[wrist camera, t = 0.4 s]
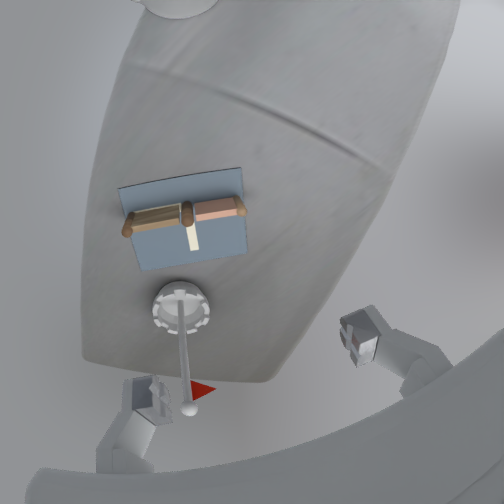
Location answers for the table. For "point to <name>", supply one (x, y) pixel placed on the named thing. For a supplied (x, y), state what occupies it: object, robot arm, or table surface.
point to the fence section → (220, 208)
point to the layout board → (178, 236)
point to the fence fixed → (158, 218)
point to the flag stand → (183, 330)
